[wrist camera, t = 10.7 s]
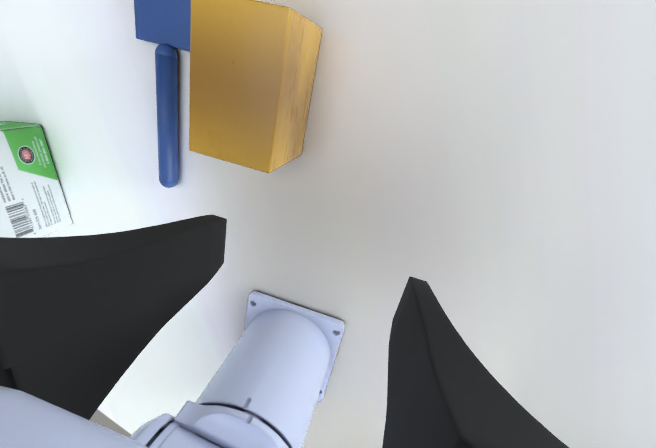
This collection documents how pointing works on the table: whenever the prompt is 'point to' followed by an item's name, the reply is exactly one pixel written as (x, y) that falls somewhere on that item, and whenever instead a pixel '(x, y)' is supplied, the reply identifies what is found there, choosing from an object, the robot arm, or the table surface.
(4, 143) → the ink box
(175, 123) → the spatula
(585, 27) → the table surface
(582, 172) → the table surface
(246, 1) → the block
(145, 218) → the table surface
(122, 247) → the robot arm
